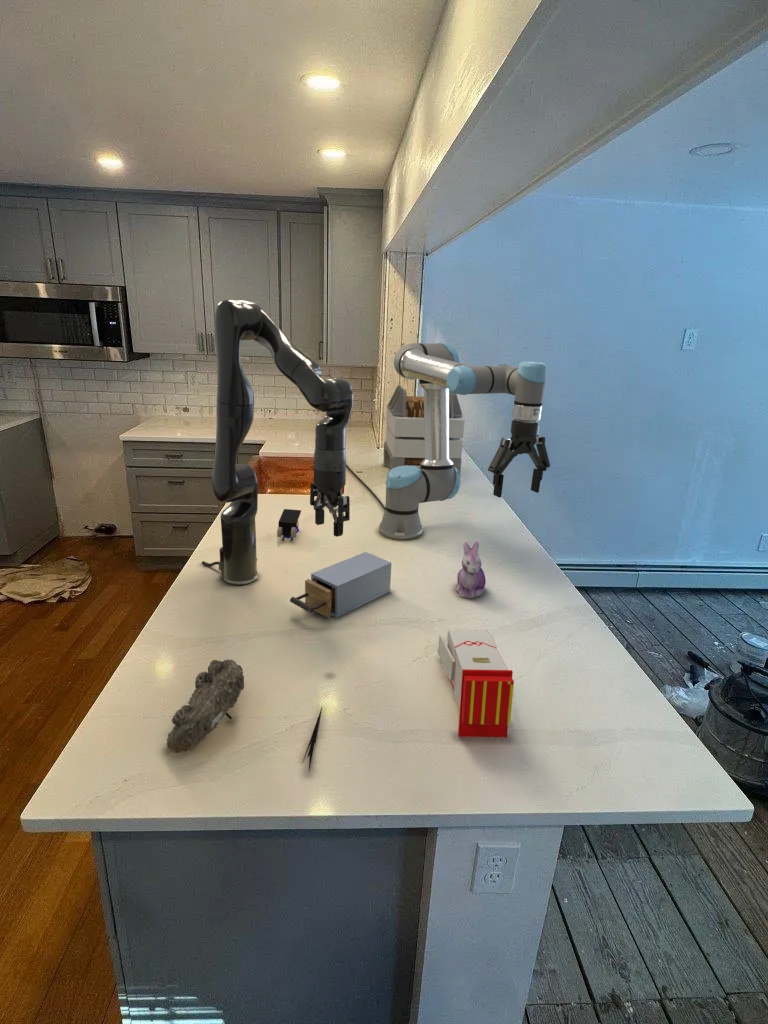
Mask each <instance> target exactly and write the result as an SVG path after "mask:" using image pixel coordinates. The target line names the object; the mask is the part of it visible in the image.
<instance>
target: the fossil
mask: <svg viewBox="0 0 768 1024" xmlns="http://www.w3.org/2000/svg"><path fill="white" fill-rule="evenodd" d="M243 670H244V669H243V667H242V665H240V664H237V662H236V661H235V660H234V659H232V658H231V659H227V658H226V659H224V660H223V661H222V660H217V659H212V660H211V661H210V663H209V665H208V666H207V671H201V672H199V673H198V674H197V675H196V676H195V680H194V684H195V685H194V687H195V689H194V690H193V693H192V694H191V697H190V698H189V700H188V704H184V705H182V706H181V707H180V709H177V710H176V711H175V713H174V715H173V716H172V718H171V723H172V724H173V727H172V730H171V731H170V732H168V734H167V738H166V741H167V742H166V745H167V749H168V750H169V751H173V752H174V753H176V754H178V753H182V752H188V751H189V752H192V751H193V750H195V748H196V747H197V746H199V744H200V743H201V742H203V741H204V740H205V739H206V738H207V737H208V736H209V735H210V734H211V733H212V732H214V730H215V729H217V727H218V726H219V724H220V722H221V721H222V720H223V719H224V718H225V716H226V717H227V719H229V720H233V717H232V715H230V714H229V710H230V709H231V708H234V706H235V704H236V703H237V702H238V699H239V697H240V695H241V693H242V691H243V690H245V689H244V688H245V675H244V671H243Z"/></svg>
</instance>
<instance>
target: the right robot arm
mask: <svg viewBox="0 0 768 1024" xmlns="http://www.w3.org/2000/svg"><path fill="white" fill-rule="evenodd" d="M547 366H548V365H547V364H546V363H544V362H539V361H538V362H537V361H521V362H520V363H518V367H516V366H512V365H508V364H494V365H470V364H466V363H463V362H461V357H460V354H459V352H458V350H457V349H456V347H454V345H451V344H449V343H442V342H438V343H433V342H432V343H429V342H426V343H425V342H424V343H420V342H419V343H418V342H411V343H407V344H405V345H403V346H401V347H400V348H399V349H398V350H397V351H396V352H395V355H394V358H393V367H394V370H395V372H397V374H398V375H399V376H400V377H402V378H404V379H408V380H410V381H411V380H413V381H414V380H415V381H416V380H419V381H418V382H419V384H418V385H419V386H420V387H421V388H422V389H423V397H424V449H425V459H424V460H423V461H422V462H421V463H420V466H411V465H410V466H407V465H404V466H398V467H395V468H393V469H391V470H390V469H389V470H388V472H387V475H386V479H385V504H384V503H382V501H381V500H380V498H378V496H377V495H376V494H375V493H374V492H373V490H371V488H369V486H368V485H367V484H366V483H365V482H364V481H363V480H362V479H361V478H360V477H359V476H358V475H357V474H356V473H355V472H354V471H353V470H352V469H351V468H350V466H349V465H347V464H346V469H347V470H348V471H349V472H350V473H351V474H352V475H353V476H354V477H355V478H356V479H357V480H358V481H359V482H360V483H361V484H362V485H363V486H364V487H365V488H366V489H367V490H368V491H369V492H370V494H372V496H373V497H374V498H375V499H376V501H377V502H378V503H379V504H380V506H381V507H382V509H383V510H384V513H383V515H382V519H381V522H379V525H378V533H379V534H380V535H381V536H382V537H385V538H387V539H389V540H395V541H410V540H415V539H418V538H420V537H421V536H422V535H423V525H422V524H421V518H420V515H419V507H420V506H419V505H420V504H423V503H431V502H444V501H446V500H450V499H453V498H454V497H455V496H456V495H457V494H458V493H459V490H460V487H461V474H460V475H459V474H458V473H459V472H458V470H457V469H456V468H455V467H453V462H452V461H451V460H450V459H449V390H450V391H451V393H453V394H456V395H460V396H467V395H483V394H484V395H485V394H487V395H489V394H507V395H512V396H514V401H513V407H512V418H513V419H512V420H511V423H510V424H511V425H510V435H511V436H510V438H505V437H502V438H501V440H500V444H499V447H498V448H497V450H496V452H495V454H494V456H493V458H492V460H491V462H490V464H489V466H488V468H487V470H488V472H490V473H493V477H492V485H493V492H492V493H493V494H492V495H493V496H495V497H497V498H500V499H501V498H502V493H503V485H504V477H505V476H504V475H505V474H503V473H504V471H505V470H506V469H507V468H508V467H509V465H510V463H511V462H512V461H513V460H514V459H515V458H516V457H517V456H518V455H523V454H525V455H528V456H529V458H530V459H531V461H532V463H533V464H534V466H535V468H533V470H532V476H531V477H532V478H531V483H530V484H531V485H530V491H532V492H535V493H536V494H538V493H540V487H541V481H543V475H544V472H546V471H547V469H549V468H551V462H550V458H549V455H548V451H547V448H546V447H547V446H546V437H545V436H542V435H539V431H540V424H541V423H540V420H541V416H542V410H543V403H544V396H545V389H546V383H547V380H548V379H547V374H548V373H547V371H548V367H547ZM535 446H536V447H535Z"/></svg>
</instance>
